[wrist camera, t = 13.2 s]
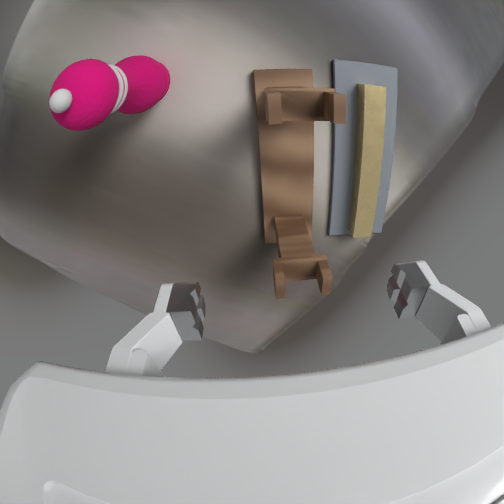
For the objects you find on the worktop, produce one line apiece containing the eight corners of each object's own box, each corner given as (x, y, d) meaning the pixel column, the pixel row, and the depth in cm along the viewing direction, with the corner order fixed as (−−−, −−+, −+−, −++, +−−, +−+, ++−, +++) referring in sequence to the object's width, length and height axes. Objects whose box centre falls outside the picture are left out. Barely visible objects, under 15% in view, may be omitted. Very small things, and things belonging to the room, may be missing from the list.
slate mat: (332, 59, 27) (334, 59, 27) (394, 67, 27) (397, 68, 26) (328, 232, 43) (329, 235, 42) (379, 229, 42) (381, 232, 42)
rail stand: (253, 70, 29) (258, 65, 16) (310, 69, 28) (351, 67, 16) (264, 239, 43) (271, 313, 31) (309, 236, 43) (331, 307, 31)
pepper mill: (185, 77, 29) (117, 84, 13) (150, 118, 32) (65, 171, 16) (145, 47, 26) (49, 36, 10) (112, 89, 29) (8, 121, 12)
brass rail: (357, 83, 28) (364, 84, 26) (377, 85, 28) (386, 87, 26) (348, 228, 41) (352, 237, 39) (365, 228, 41) (370, 236, 39)
